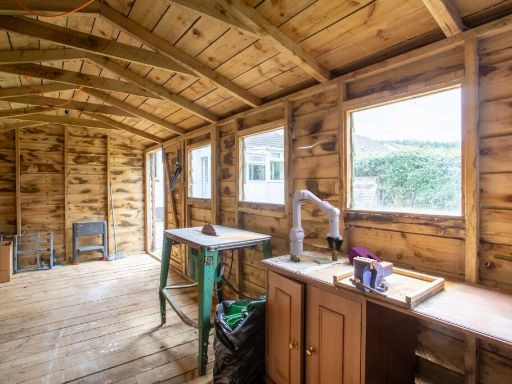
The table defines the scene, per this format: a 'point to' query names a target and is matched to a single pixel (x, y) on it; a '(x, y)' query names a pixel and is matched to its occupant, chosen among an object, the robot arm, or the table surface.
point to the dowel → (334, 255)
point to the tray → (323, 260)
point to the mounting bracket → (361, 254)
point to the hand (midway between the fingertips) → (334, 249)
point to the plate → (305, 258)
